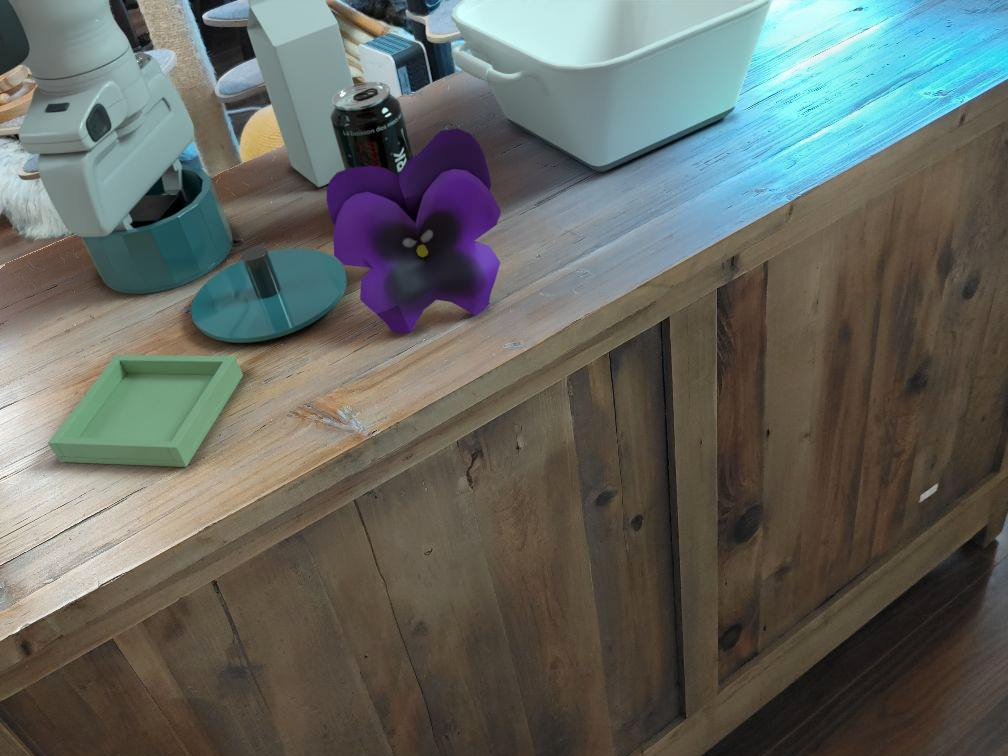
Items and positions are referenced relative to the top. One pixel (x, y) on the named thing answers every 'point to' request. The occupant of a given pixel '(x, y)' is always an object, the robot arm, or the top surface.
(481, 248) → the flower
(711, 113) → the tub
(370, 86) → the beverage can
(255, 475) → the top surface
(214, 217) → the cook pot
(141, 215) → the black block
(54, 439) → the tray
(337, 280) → the pot lid
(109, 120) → the robot arm
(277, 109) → the milk carton
